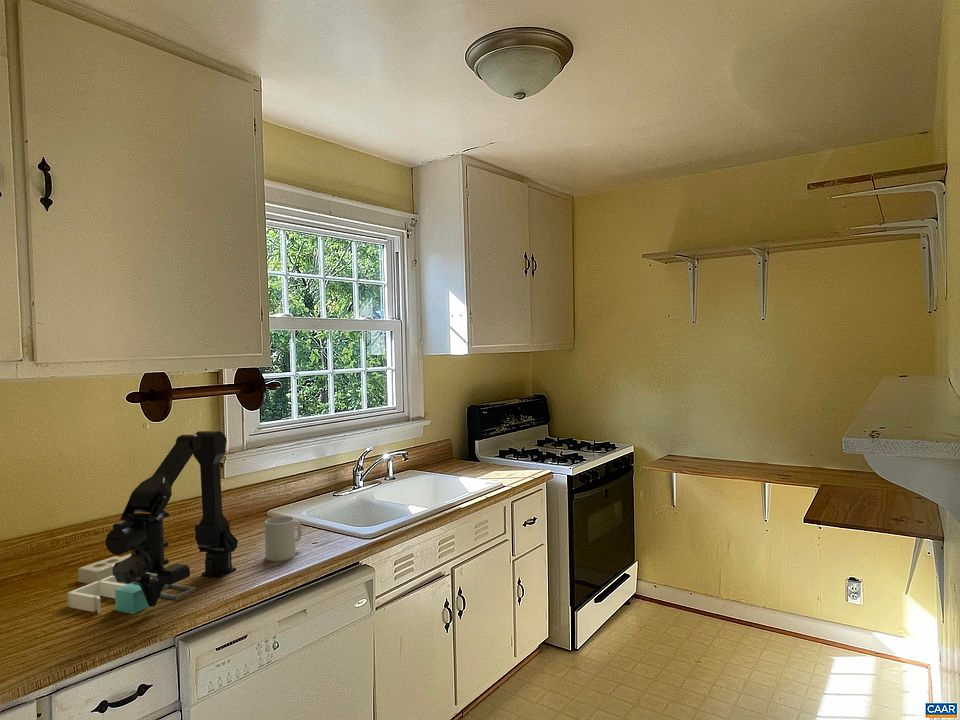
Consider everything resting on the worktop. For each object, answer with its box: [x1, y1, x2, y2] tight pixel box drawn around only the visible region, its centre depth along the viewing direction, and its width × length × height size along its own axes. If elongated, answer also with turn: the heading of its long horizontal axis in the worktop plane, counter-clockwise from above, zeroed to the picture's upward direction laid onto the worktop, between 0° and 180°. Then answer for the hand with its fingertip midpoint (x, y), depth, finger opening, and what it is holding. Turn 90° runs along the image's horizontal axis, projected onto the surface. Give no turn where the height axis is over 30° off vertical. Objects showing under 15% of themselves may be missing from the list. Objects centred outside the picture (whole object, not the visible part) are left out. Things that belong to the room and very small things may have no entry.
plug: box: [114, 584, 149, 615], centre depth 148 cm, size 7×4×5 cm, turn 68°
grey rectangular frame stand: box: [159, 583, 197, 601], centre depth 157 cm, size 10×6×3 cm, turn 68°
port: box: [66, 575, 138, 615], centre depth 154 cm, size 11×16×4 cm
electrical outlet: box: [77, 553, 131, 585], centre depth 172 cm, size 7×4×18 cm
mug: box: [264, 515, 303, 562], centre depth 184 cm, size 12×8×11 cm
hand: (152, 606), depth 145 cm, fingers closed
